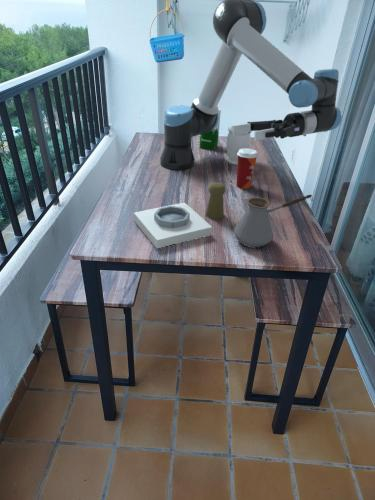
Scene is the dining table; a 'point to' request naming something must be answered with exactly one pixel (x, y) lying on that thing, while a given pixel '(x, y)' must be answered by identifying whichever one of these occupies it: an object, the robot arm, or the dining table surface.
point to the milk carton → (210, 137)
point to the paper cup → (245, 167)
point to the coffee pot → (258, 222)
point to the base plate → (169, 233)
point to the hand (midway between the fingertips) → (243, 133)
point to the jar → (236, 144)
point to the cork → (216, 201)
